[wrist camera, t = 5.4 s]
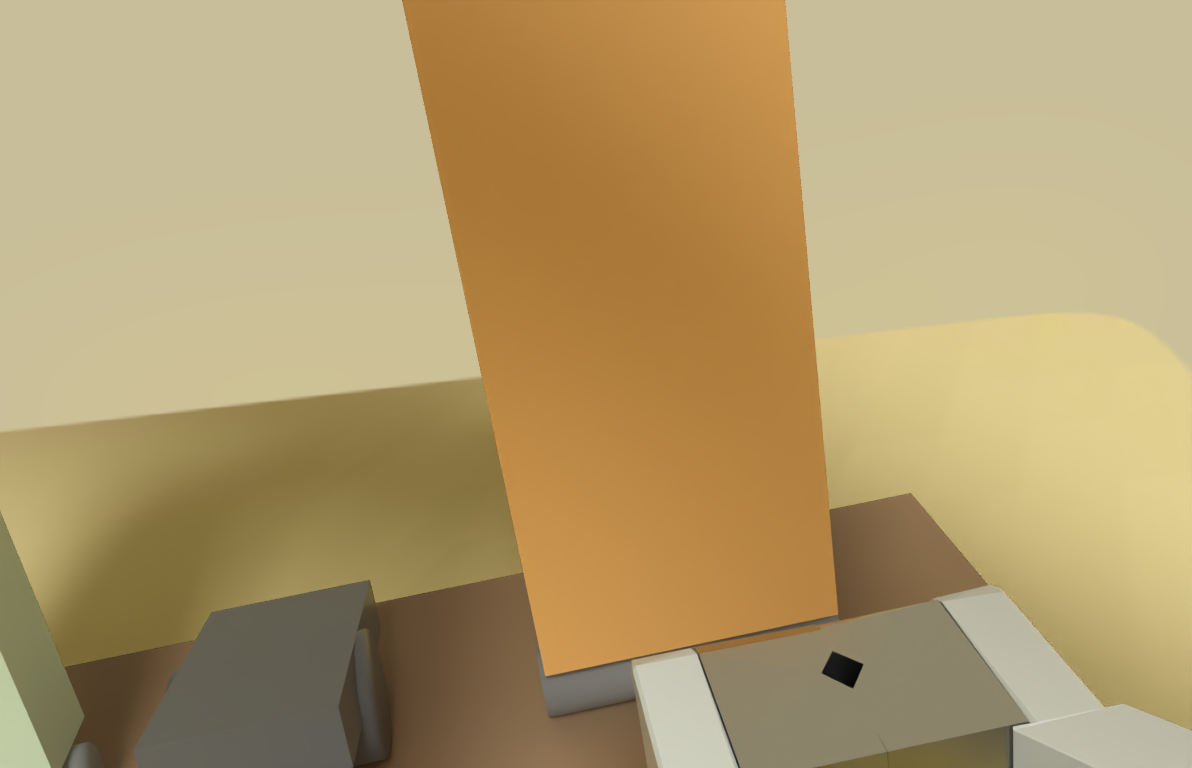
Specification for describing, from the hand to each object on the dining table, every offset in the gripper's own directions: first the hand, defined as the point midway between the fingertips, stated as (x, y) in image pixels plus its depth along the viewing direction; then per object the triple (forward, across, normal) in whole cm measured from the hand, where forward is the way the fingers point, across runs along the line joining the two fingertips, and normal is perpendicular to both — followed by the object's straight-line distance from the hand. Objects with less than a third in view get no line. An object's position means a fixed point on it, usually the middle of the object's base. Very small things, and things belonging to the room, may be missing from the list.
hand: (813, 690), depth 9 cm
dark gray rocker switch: (+9, +7, +7) cm, 13 cm away
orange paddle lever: (+9, 0, +6) cm, 11 cm away
